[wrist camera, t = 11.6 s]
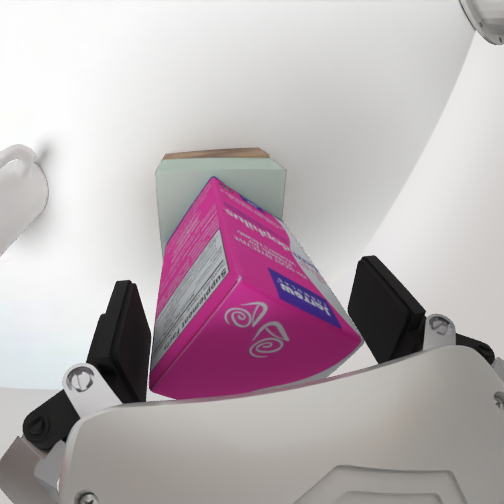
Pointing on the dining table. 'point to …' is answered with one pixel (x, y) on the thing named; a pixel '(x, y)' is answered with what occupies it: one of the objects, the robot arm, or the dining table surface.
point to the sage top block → (226, 170)
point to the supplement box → (242, 305)
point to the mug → (19, 192)
